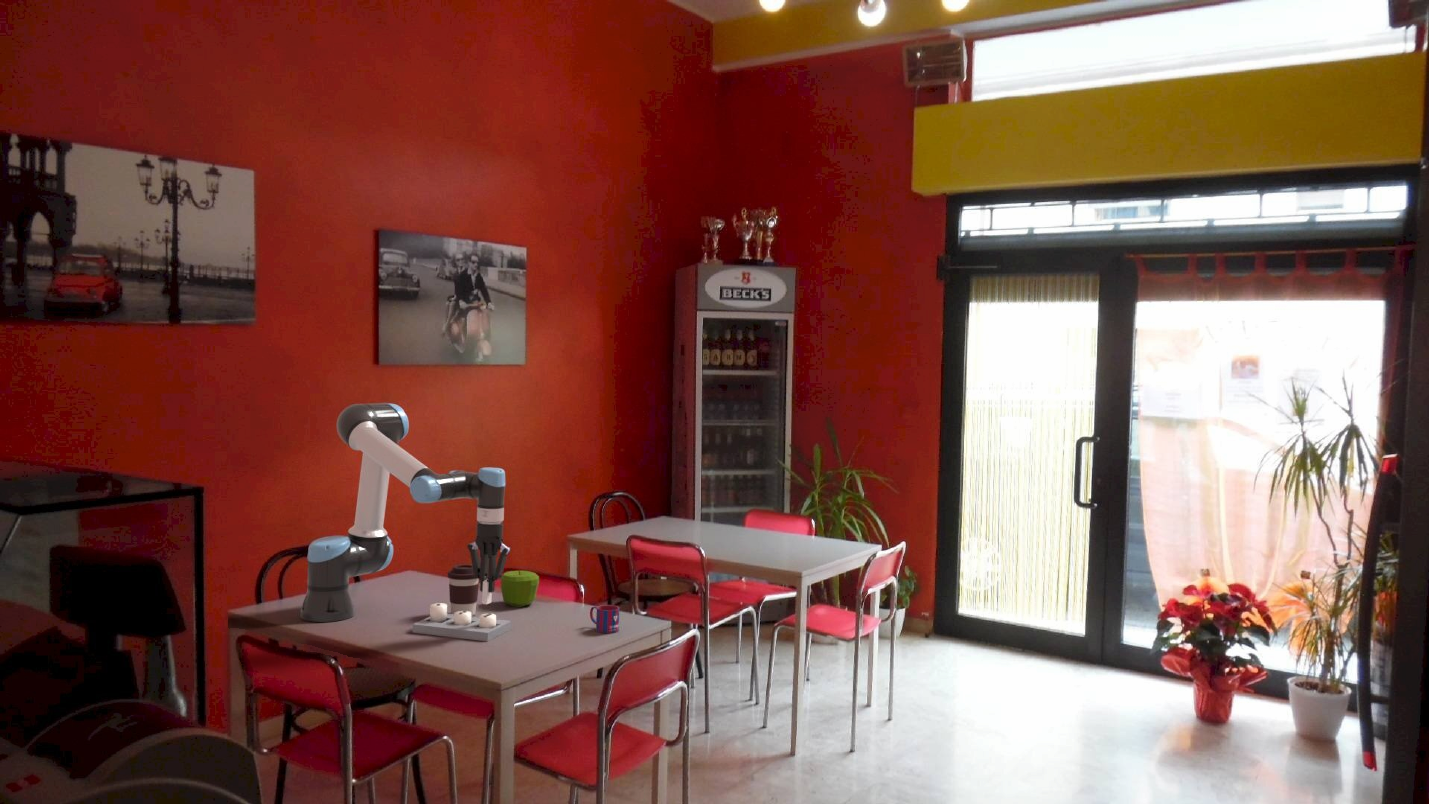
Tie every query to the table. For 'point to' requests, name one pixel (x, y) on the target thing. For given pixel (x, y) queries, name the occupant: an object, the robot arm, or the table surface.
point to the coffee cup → (463, 589)
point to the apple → (519, 587)
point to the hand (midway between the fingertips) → (486, 603)
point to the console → (461, 628)
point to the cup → (606, 618)
